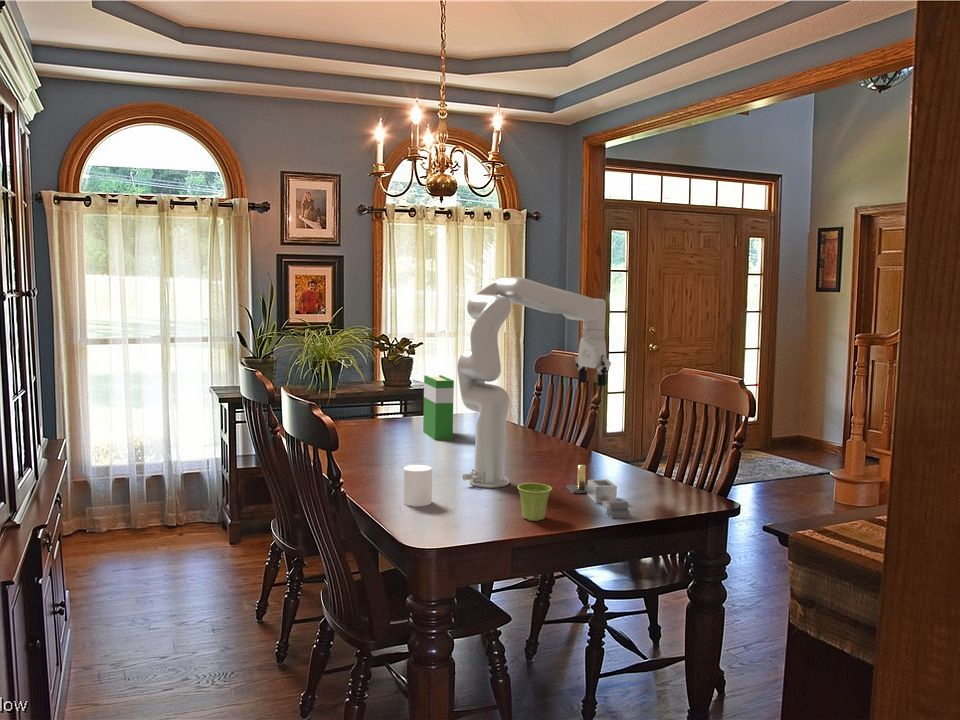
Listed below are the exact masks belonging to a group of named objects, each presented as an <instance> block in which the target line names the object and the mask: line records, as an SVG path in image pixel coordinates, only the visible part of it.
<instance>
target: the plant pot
mask: <svg viewBox="0 0 960 720" xmlns="http://www.w3.org/2000/svg"><path fill="white" fill-rule="evenodd" d="M517 489H518V492H519V496H520V497H519V498H520V505H521V517H522V519H524V520H525V519H526V520H527V521H531V522H532V521H535V522H538V521H541V520H545V518H546V511H547V505H548V500H549V496H550V494H551V491H553V489H552V486H550V485H549V484H544V483H537V482H526V483H525V482H524V483H521V484H518V485H517Z"/></svg>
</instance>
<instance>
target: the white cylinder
mask: <svg viewBox="0 0 960 720" xmlns="http://www.w3.org/2000/svg"><path fill="white" fill-rule="evenodd" d="M402 479H403V480H402V484H403V485H402V487H403V488H402V491H403V492H402V503H403V504H404V505H405V506H409V507H414V508H416V507H426V506H430V505H431V504H432V500H433V497H432V496H433V494H432V493H433V467H431V466H430V465H425V464H409V465H406V466H404V467H403V474H402Z"/></svg>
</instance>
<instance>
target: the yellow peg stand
mask: <svg viewBox="0 0 960 720" xmlns="http://www.w3.org/2000/svg"><path fill="white" fill-rule="evenodd" d="M586 466H587V465H585V464H577V478H576V483H577V484H567V485H566V489H567V488H568V489H569V490H570V491H571V492H572V493H571V492H570V491H569V490H568V489H567V490H568V491H569V492H570V493H571V494H573V493H587V488H588V484H586V468H587V467H586Z"/></svg>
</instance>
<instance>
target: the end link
mask: <svg viewBox="0 0 960 720" xmlns="http://www.w3.org/2000/svg"><path fill="white" fill-rule="evenodd" d="M587 485H588V488H587V494H586V496H587V495H588V496H589V497H590V498H591V499H592V500H593V501H594V502H595V503H594V502H593V501H592V500H591V499H590V498H589V497H588V496H587V497H588V498H589V499H590V500H591V501H592V502H593V503H594V504H602V503H603V501H617V494H618V493H617V490H618V488H617V485H616V484H615V483H613V482H612V481H611V480H609V479H608V478H605V479H603V478H602V479H588V480H587Z"/></svg>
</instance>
